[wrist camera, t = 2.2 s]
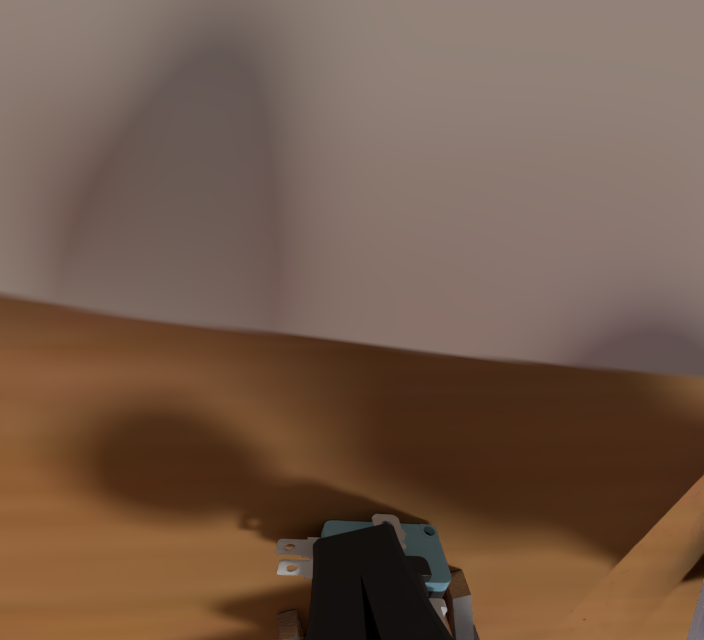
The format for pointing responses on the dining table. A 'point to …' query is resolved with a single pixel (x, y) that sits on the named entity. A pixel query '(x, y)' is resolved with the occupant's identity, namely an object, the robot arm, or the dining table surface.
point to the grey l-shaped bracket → (457, 610)
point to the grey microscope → (413, 538)
